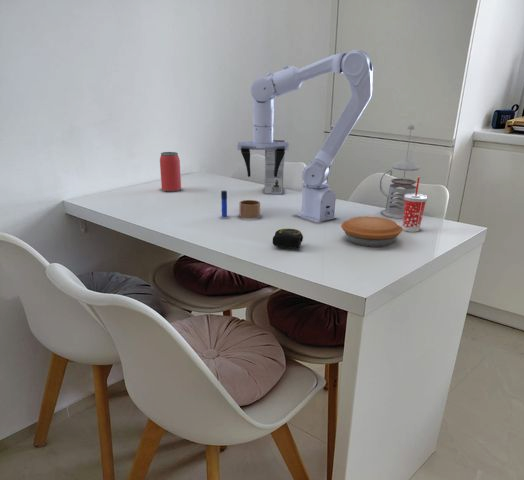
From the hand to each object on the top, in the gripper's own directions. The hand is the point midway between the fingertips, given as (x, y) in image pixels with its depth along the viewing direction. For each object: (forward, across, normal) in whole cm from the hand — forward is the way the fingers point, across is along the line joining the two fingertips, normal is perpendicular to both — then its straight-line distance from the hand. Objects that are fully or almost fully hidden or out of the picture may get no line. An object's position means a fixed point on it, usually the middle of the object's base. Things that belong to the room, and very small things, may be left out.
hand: (262, 176), depth 157 cm
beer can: (+11, -29, +29) cm, 42 cm away
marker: (+10, -11, -7) cm, 17 cm away
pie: (+11, +26, -28) cm, 40 cm away
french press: (+11, +41, -2) cm, 42 cm away
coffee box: (+11, +6, +28) cm, 30 cm away
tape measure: (+11, +4, -34) cm, 36 cm away
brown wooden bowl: (+10, -4, -6) cm, 13 cm away
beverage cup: (+11, +40, -18) cm, 45 cm away
